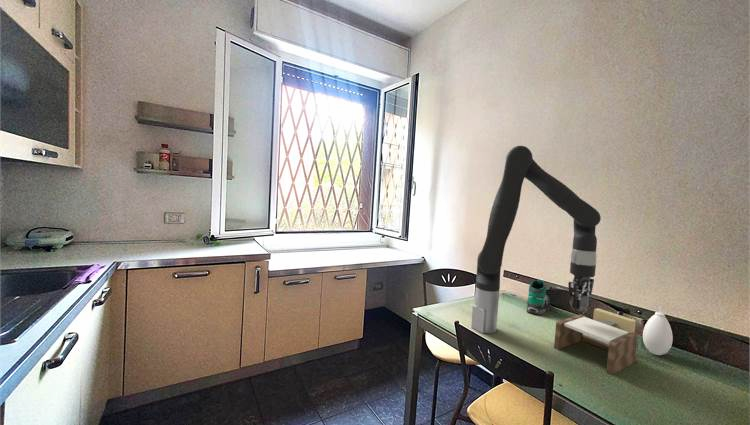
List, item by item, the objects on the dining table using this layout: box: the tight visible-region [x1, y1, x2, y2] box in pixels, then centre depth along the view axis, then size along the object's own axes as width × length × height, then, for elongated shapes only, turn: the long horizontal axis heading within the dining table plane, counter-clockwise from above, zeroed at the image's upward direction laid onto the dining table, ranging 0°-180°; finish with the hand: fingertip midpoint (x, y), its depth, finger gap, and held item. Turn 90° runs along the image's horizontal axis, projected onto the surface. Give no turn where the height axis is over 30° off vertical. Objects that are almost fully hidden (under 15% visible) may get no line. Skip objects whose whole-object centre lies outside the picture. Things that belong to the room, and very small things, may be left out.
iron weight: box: [570, 294, 590, 312], centre depth 107 cm, size 5×5×5 cm
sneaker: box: [526, 279, 551, 316], centre depth 148 cm, size 9×24×15 cm, turn 137°
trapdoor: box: [564, 308, 637, 345], centre depth 106 cm, size 22×14×6 cm, turn 119°
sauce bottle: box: [642, 305, 674, 356], centre depth 107 cm, size 8×8×18 cm
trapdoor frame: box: [553, 313, 639, 376], centre depth 105 cm, size 19×18×10 cm
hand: (579, 307), depth 108 cm, fingers closed on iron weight, 5 cm apart
